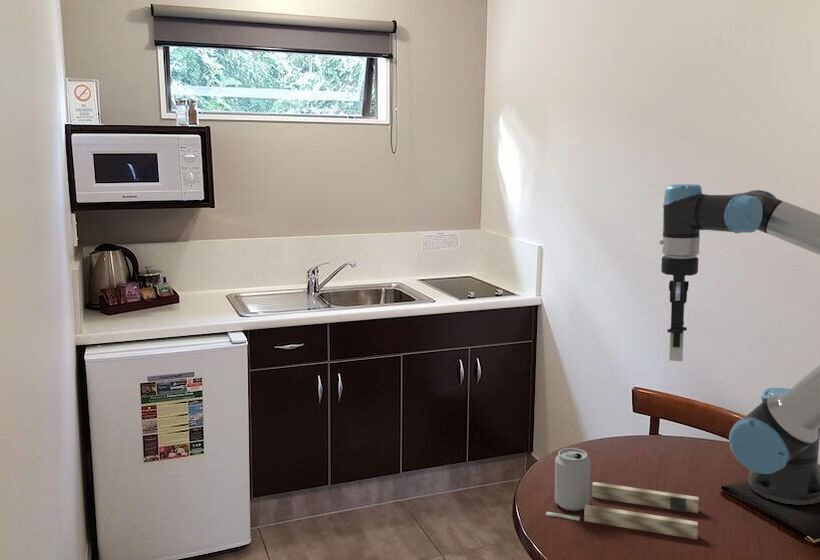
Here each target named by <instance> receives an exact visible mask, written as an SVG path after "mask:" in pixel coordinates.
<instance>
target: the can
mask: <svg viewBox="0 0 820 560" xmlns="http://www.w3.org/2000/svg"><path fill="white" fill-rule="evenodd" d="M557 454H558V455H556V457H554V461H555V462H554V502H555V503H556V504H557V505H558V506H559V507H560V508H562V509H564V510H565V511H569V510H570V511H571V512H578V511H583V510H584V508H585V505H586V504H587V505H590V503H591V459H590V458H589V457H588V456H589V455H588V453H587V452H586V451H585V450H583V449H580V448H575V447H569V448H562V449H560V450H559V451H558V453H557Z"/></svg>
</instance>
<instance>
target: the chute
mask: <svg viewBox="0 0 820 560" xmlns="http://www.w3.org/2000/svg"><path fill="white" fill-rule="evenodd" d="M591 485H592V486H591V498H593V497H595V499H599V500H608V501H613V502H614V501H615V502H621V503H627V504H634V505H639V506H640V505H641V506H646V507H654V508H659V509H661V508H662V509H666V510H667V509H668V510H670V511H673V512H679V513H680V512H681V513H686V512H687V513H694V514H698V513H699V501H700V497H699V496H693V495H687V494H681V493H680V494H679V493H673V492H667V491H666V492H665V491H658V490H652V489H645V488H638V487H631V486H626V485H625V486H624V485H620V484H619V485H618V484H610V483H606V482H605V483H604V482H597V481H593V482H592V484H591ZM583 510H584V511H583V513H584V514H583V515H584V516H583V519H584V520H583V521H584V522H589V523H595V524H599V525H600V524H601V525H605V526H606V525H607V526H613V527H619V528H623V529H624V528H626V529H631V530H638V531H643V532H648V533H650V532H651V533H656V534H662V535H667V536H674V537H682V538H687V539H693V540H698V530H699V529H698V528H699V527H698V526H699V522H698V521H695V520H688V519H686V518H682V517H677V516H676V517H675V516H664V515H656V514H652V513H651V514H649V513H645V512H644V513H643V512H638V511H637V512H636V511H630V510H624V509H618V508H617V509H616V508H612V507H605V506H597V505H592V504H589V505H587V504H586V505H585V508H584V509H583ZM545 516H546V517H554V518H559V519H567V520H571V521H578V522H580V520H581V516H578V515H573V514H572V515H571V514H565V513H558V512H553V511H546V513H545Z"/></svg>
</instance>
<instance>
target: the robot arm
mask: <svg viewBox="0 0 820 560" xmlns="http://www.w3.org/2000/svg"><path fill="white" fill-rule="evenodd" d="M663 197H664V198H663V204H662V208H663V215H662V216H663V220H662V221H663V224H662V226H663V227H662V230H663V231H662V239H661V240H659V243H658V244H659V245H662V247H661V248H662V250H661V251H662V253H661V254H663V256H662V257H661V269H660V271H661V273H662V274H665V275H668V276H672V277H673V278H672V279H673V280H669V282H668V290H669V302H670V304H671V307H670V309H671V312H670V328H668V329H667V333H670V334H669V335H670V336H669V359H668V361H674V362H683V353H684V332H685V331H686V332H687V330H688V328H687V327H686V326H684V325H685V321H684V320H685V318H684V317H685V304H686V303H687V299H688V291H689V283H690V282H689V280H688V281H687V280H686V276H695V275H697V274H698V273H699V272H698V271H699V258H698V257H697V256H698V255H699V254H700V232H701V231H714V232H715V231H717V232H728V233H734V234H741V233H747V234H748V233H749V234H750V233H754V232H756V231H757V230H758V231H759V232H762V233H765V234H767V235H769V236H772V237H774V238H778V239H780V240H783V241H785V242H786V243H789V244H792V245H794V246H797V247H799V248H802V249H804V250H807V251H809V252H812V253H814V254H817V255H819V256H820V214H819V213H816V212H814V211H811V210H808V209H806V208H803V207H801V206H798V205H796V204H792V203H789V202H787V201H783V200H781V199H779V198H777V197H776V195H774V194H773V193H771V192H769V191H766V190H760V189H757V190H755V189H754V190H750V191H747V192H740V193H733V194H707V193H706V194H705V193H703V191H702V186H701V185H700V184H692V183H691V184H690V183H689V184H687V183H684V184H683V183H681V184H678V183H676V184H670V185H668V186H666V188H665V189H664V196H663ZM728 441H729V447H730V450H731V453H732V454H733V456H734V457H735V459H736V460H737V461H738V462H739V463H740V465H742V466H743V467H745V468H746V469H748V470H750V472H749V474H748V482H749V484H750V485H751V486H752V487H753V488H755V489H756V490H758V491H760V492H762V493H765V494H768V495H771V496H775V497H778V498H784V499H790V500H810V499H814V498H817V497H818V496H820V466H819V449H820V364H818V365H817V366H816V367H814V369H812V370H811V371H810V372H808V373H807V375H805V376H804V377H803V378H801V380H799V382H797V383H796V384H795V385H793V386H792V387H791V388H786V387H769V388H765V389H764V390H763V392H762V396H761V403H760V404H758V406H756V407H755V408H754V409H753V410H752V411H750V412H749V413H748V414H747V415H746V416H744V417H743V418H740V419H738V420H737V421H736V422H735V423H734V425H733V426H732V428H731V429H730V431H729V435H728Z"/></svg>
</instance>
